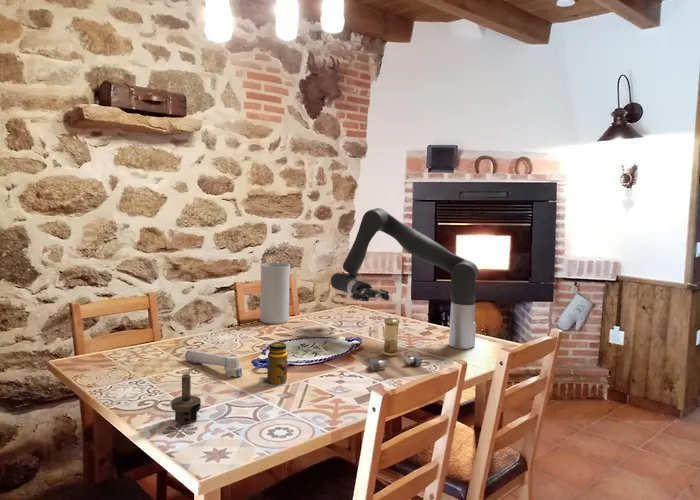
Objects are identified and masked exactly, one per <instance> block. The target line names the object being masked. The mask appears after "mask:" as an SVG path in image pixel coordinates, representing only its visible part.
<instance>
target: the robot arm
mask: <svg viewBox="0 0 700 500" xmlns="http://www.w3.org/2000/svg"><path fill="white" fill-rule="evenodd" d="M377 232H382V233H385V234H386V235H387V236H390V237H392V238H393V239H395V240H396V242H397V243H398V244H399V245H400V246H401V247H402V248H403V250H405V251H406V252H407V253H409V254H410V255H412V256H414V257H415V258H417V259H418V260H421V261H422V262H425V263H428V264H431V265H434V266H436V267H439V268H441V269H442V270H445V271H446V272H448V273H449V274H450V297H451V300H450V315H449V316H450V318H449V335H448V346H449V347H451V348H454V349H460V350H468V349H472V348H474V347H476V345H475V344H476V334H477V333H476V331H477V323H476V322H475V314H476V313H475V312H476V300H477V299H476V294H475V290H476V281H477V280H478V278H479V274H480V273H479V268H478V266H477V265H476V264H475V263H474V262H472V261H470V260H468V259H465V258H463V257H461V256H459V255H457V254H455V253H453V252H451V251H449V250H448V249H447V248H446V247H444V246H443V245H441V244H440V243H438V242H436V241H434V240H433V239H431V238H430V237H429V236H426V235H424V234H423V233H421V232H420V231H418V230H416V229H414V228H412V227H410V226H408V225H407V224H405V223H403V222H402V221H400V220H398V218H396V217H394V215H393V214H391V213H389V212H388V211H386V210H385V209H383V208H379V207H378V208H372V209H369V210H367V211H366V212H365V213H364V214H363V216H362V218H361V221H360V225H359V228H358V231H357V233H356V237H355V240H354V241H353V243H352V246H351V248H350V250H349V252H348V254H347V255H346V258H345V259H344V262H343V264H342V269H343V270H344V271H345V272H347V273H348V274H345V273H342V272H335V273H334V274H332V276H331V277H330V284H331V287H332V288H333V289H334V290H337V291H341V292H344V293H346V294H347V295H349V296H350V298H352V299H353V300H356V301H357V300H358V301H360V302H369V301H370V300H372V299H373V300H379V299H382V300H384V301H389V300H390V295H389V294H390V293H389V292H390V291H388V290H384V289H382V288H380V289H375V288H373V287H372V285H371V284H370V283H368V282H365V281H363V280H361V279H357V278H358V277H357V276H358V274H359V273H358V272H359V271H360V269H361V267H362V265H363V263H364V260H365V258H366V255H367V252H368V248H369V245H370V242H371V241H372V239H373V238H374V237H375V235H376V234H377ZM369 299H370V300H369Z"/></svg>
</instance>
